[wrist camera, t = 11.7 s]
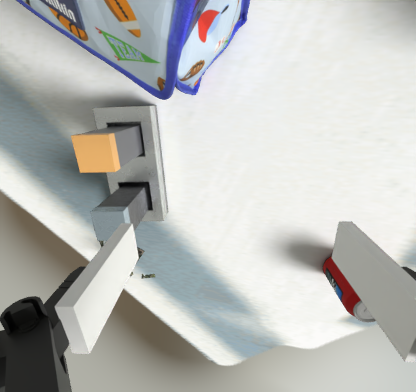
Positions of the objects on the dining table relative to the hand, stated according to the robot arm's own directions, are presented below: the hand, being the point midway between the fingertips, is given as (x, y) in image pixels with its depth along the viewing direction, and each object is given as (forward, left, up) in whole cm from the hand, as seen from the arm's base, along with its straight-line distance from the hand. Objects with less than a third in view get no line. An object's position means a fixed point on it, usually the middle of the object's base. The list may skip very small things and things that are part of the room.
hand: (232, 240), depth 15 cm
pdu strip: (+16, +4, -29) cm, 33 cm away
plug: (+16, -3, -28) cm, 32 cm away
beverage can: (-24, +25, -29) cm, 45 cm away
